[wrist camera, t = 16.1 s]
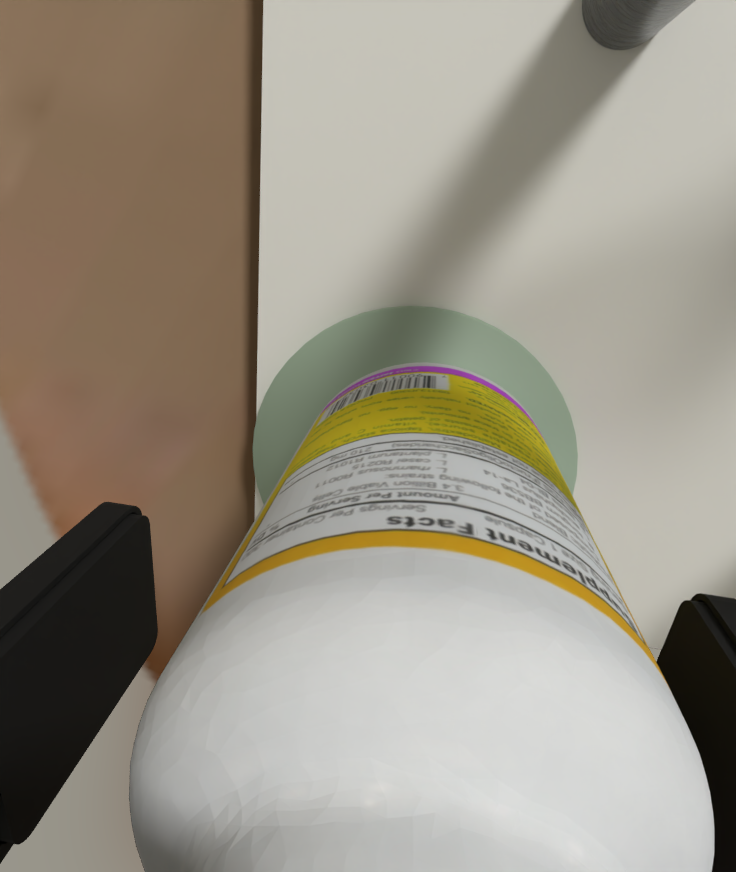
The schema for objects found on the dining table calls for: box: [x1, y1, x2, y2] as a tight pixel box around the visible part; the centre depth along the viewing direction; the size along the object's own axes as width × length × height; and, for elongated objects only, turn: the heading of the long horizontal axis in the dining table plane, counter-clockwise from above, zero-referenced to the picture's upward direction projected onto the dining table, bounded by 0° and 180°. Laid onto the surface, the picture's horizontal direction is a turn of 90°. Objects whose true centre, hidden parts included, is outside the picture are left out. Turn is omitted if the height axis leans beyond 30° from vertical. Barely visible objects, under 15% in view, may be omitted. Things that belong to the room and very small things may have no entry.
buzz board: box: [253, 0, 736, 650], centre depth 12 cm, size 21×25×2 cm
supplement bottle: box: [129, 362, 714, 872], centre depth 9 cm, size 7×7×13 cm
